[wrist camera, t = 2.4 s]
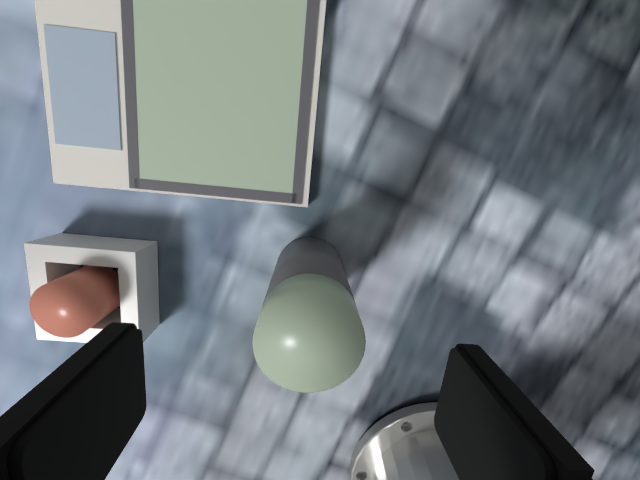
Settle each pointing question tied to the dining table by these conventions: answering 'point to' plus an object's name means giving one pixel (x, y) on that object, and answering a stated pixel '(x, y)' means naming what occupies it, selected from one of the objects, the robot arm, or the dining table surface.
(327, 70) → the dining table surface
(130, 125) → the picture board
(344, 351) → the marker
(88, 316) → the button
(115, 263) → the button housing
